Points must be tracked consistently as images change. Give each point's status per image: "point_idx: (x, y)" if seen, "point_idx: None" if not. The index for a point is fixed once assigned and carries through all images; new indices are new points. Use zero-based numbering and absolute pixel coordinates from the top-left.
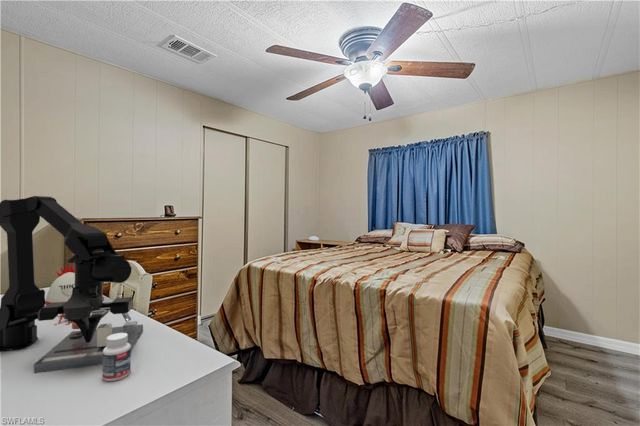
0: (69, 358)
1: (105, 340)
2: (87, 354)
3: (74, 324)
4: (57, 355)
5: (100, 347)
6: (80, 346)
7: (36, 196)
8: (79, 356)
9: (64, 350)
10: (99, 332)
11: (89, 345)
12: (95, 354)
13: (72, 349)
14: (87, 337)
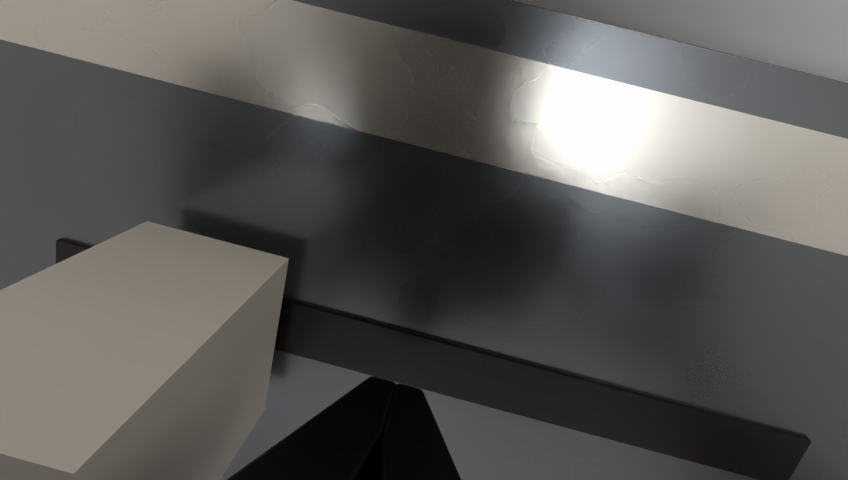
0: (628, 84)
1: (123, 261)
2: (394, 90)
3: None
4: (775, 313)
5: None
6: (507, 463)
7: None
8: (497, 74)
9: (689, 428)
10: (108, 378)
11: None
12: (284, 24)
13: (595, 406)
14: (387, 427)
